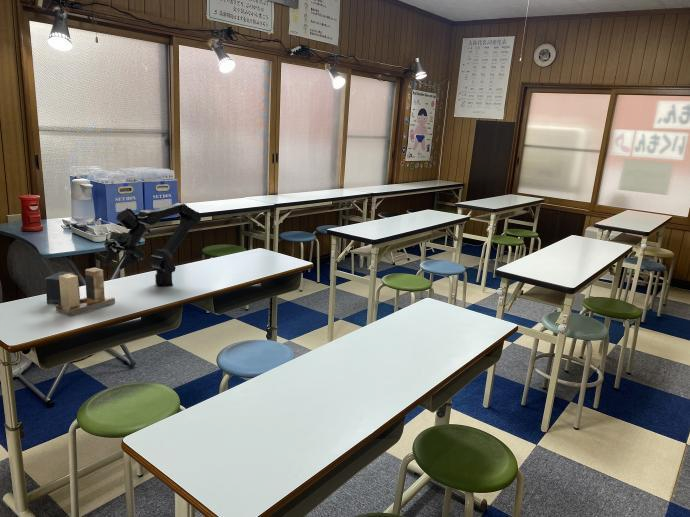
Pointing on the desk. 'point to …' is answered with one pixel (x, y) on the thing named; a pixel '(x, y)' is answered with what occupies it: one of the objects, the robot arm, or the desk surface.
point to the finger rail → (76, 297)
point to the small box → (54, 288)
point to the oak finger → (94, 285)
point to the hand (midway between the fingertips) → (112, 266)
